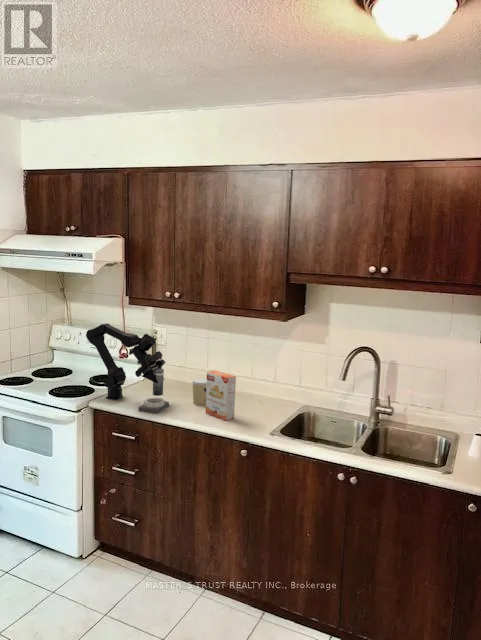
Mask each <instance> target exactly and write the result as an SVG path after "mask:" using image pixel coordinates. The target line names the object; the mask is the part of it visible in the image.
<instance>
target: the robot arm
mask: <svg viewBox="0 0 481 640" xmlns="http://www.w3.org/2000/svg"><path fill="white" fill-rule="evenodd" d="M105 335H108V336H111V337H112V338H114V339H116V340H118V341H120V343H121V344H122V345H123V346H124V347H126V348H130V349H129V352H128V355H129V356H130V355H134V358H135V359H136V360H137V364H138V365H139V364H140V365H141V366H139V368H137V370H136V371H135V376H136V377H137V378H140V377H142V378H145V379H147V380H149V381H151V382H152V383H153V382H154V383H156V384H157V383H158V381H157V379H156V377H155V376H154V374H153V369H155V368H161V369H163V366H164V365H165V364H166V360H164V359H163V354H162V352H161V351H160V350H159V351H155V352H154V353H155V354H153V355H152V354H151V353H148V351H150V350H151V348H152V347H154V345H155V344H156V340H155V338H154V337H153V336H152V335H149V334H148V333H144V334H143V335H142V336H141V337H139V335H138V334H135V333H130V332H129V333H128V332H125V331H122V330H121V329H119V328H117V327H115V326H113V325H111V324H110V323H102V324H101V323H100V325H98V326H96V327H95V328H91V329H88V330H87V331H86V333H85V337H86V339H87V340H88V342H89V343H90V344H91V345H92V346H94V347H95V348H96V350H97V352H98V354H99V356H100V358H101V360H102V362H103V364H104V366H105V368H106V370H107V380H106V381H105V382H104V387H106V388H107V396H106V397H105V398H106V399H110V400H118V399H121V398H122V397H124V395H123V388H122V386H123V385H124V384H125V382H126V378H127V375H126V371H125V370H124V368H123V367H122V366H120V367H119V366H118V365H117V363H116V361H114V359H113V356H112V354H111V353H110V351H109V349H108V347H107V345H106V342H105ZM164 380H165V378H164V376H163V382H164Z"/></svg>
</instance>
